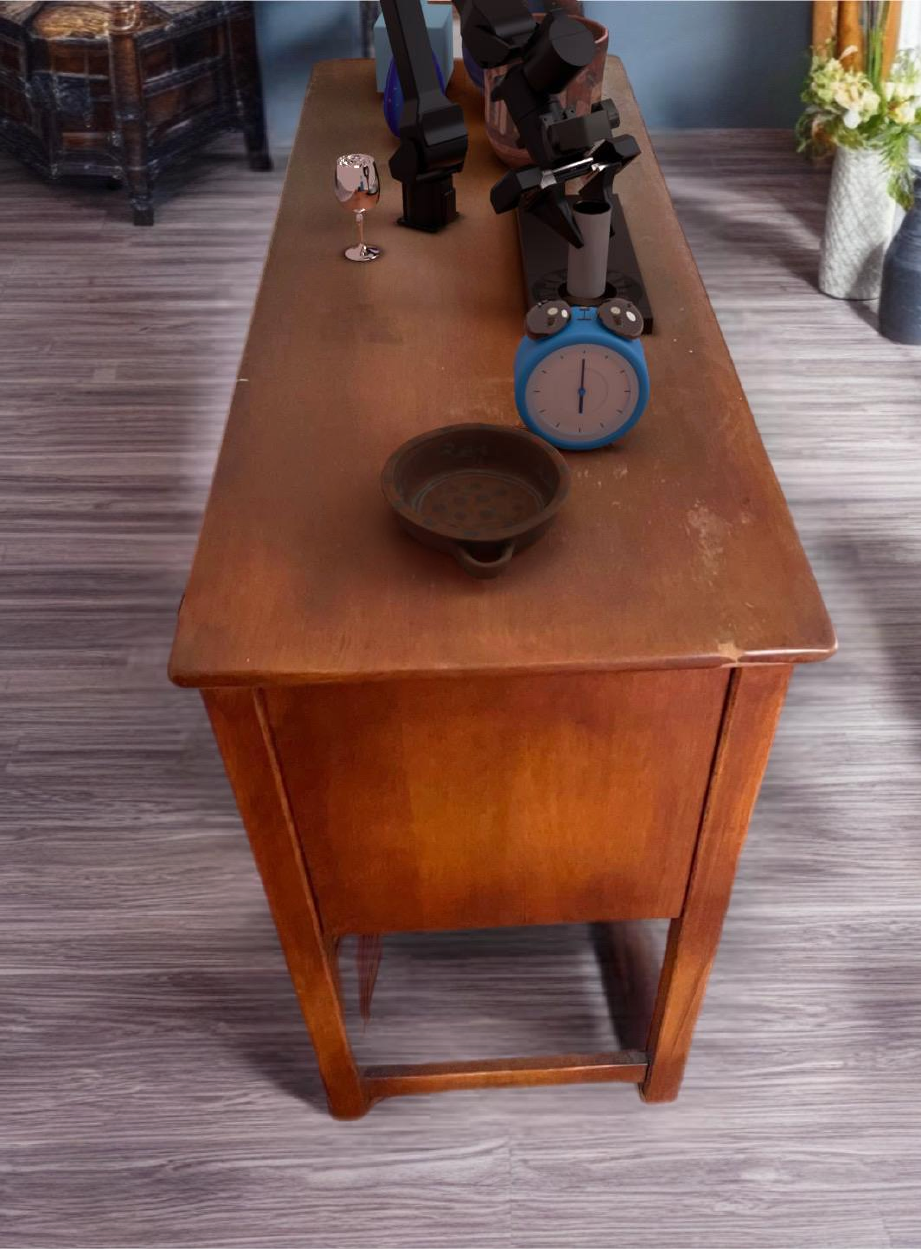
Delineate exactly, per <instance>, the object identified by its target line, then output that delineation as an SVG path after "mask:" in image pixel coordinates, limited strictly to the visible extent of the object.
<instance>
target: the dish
mask: <svg viewBox="0 0 921 1249" xmlns="http://www.w3.org/2000/svg"><path fill="white" fill-rule="evenodd" d="M379 477H380V478H379V480H380V483H379V484H380V489H381V492H382V493H383V496H384V498H385V500H386V501H387V503H388V504H389V505H390V507H391V508H392V509H393V510H394V512H395V514H396V516H397V518H398V520H399V522H400V523H401V525H402V527H403V528H404V529H405V530H406V532H407V533H408V534H409V535H410V536H411V537H413V538H414V539H415V540H416V541H418V542H420V543H421V544H422V545H424V546H426V547H428V548H430V549H432V550H435V551H437V552H439V553H443V554H444V555H445V554H446V555H449V556H451V557H455V558H456V560H457V562H458V564H459V566H460V568H461V569H462V570H463V571H464V572H465V573H466V574H467V575H469V576H470V577H472V578H475V579H477V580H478V579H479V580H490V579H491V580H492V579H495V578H497V577H500V576H501V575H503V574H504V572H505V571H506V570H507V569H508V567H509V565H510V562H511V559H512V557H513V554H515V553H518V552H521V551H524V550H526V549H528V548H529V547H531V546H533V545H534V544H536V543H537V542H538V541H540V539H542V538H543V537H544V536H545V535H546V534H547V532H548V531H549V529H551V527H552V525H553V524H554V522H555V519H556V517H557V515H558V512H559V510H560V509H561V508H562V507H563V505H564V504H565V503H566V501H567V499H568V497H569V495H570V492H571V488H572V474H571V470H570V466H569V464H568V463H567V461H566V459H565V458H564V456H563V455H562V454H561V453H560V452H559V450H558V449H557V448H556V447H555V446H552V445H550V444H549V443H547V442H546V441H544V440H543V439H542V438H540V437H538V436H536V435H534V434H533V433H532V432H530V431H527V430H525V429H521V428H516V427H513V426H512V427H511V426H506V425H502V424H492V423H484V422H463V423H456V424H451V425H446V426H442V427H441V426H440V427H437V428H433V429H431V430H428V431H426V432H423V433H421V434H418V435H416V436H414V437H413V438H412V437H411V438H410V439H408V440H407V441H405V442H404V443H402V444H401V445H399V447H397V448H396V449H395V450H394V451H393V452H392V453H391V455H390V456H389V457H388V458H387V459H386V461H385V462H384V465H383V468H382V469H381V473H380V476H379ZM490 559H497V560H495V561H490V562H483V561H482V562H481V561H478V560H490Z"/></svg>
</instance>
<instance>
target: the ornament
mask: <svg viewBox="0 0 921 1249" xmlns="http://www.w3.org/2000/svg"><path fill="white" fill-rule="evenodd" d="M432 52H433V50H432ZM433 57H434V61H435V65H436V69H437V74H438V78H439V82H440V87H441V90H442V93H443V94H444V95H445V96H446V89H445V86H444V81H443V77H442V73H441V70H440V67H439V64H438V61H437V59H436V56H435V54H434V52H433ZM446 97H447V96H446ZM403 106H404V99H403V94H402V90H401V86H400V82H399V78H398V74H397V70H396V66H395V62H394V58H393V57H392V60H391V62H390V67H389V70H388V73H387V79H386V86H385V89H384V92H383V102H382V110H383V116H384V119H385V122H386V125H387V127H388V129H389V131H390V132H391V134H392V135H393V136H394V137H395V138H397V139H399V140H400V136H399V130H398V126H399V122H400V118H401V114H402V110H403Z"/></svg>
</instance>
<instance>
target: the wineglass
mask: <svg viewBox="0 0 921 1249" xmlns="http://www.w3.org/2000/svg"><path fill="white" fill-rule="evenodd" d="M333 181H334V182H333V188H334V195H335V199H336V201H337V203H338V204H339V206H340V207H341V208H342V209H344V210H346V211H348V212H350V213H354V214H356V215H355V223H356V225H357V229H358V235H359V236H358V237H359V238H358V239H359V243H358V245H355V246H352V247H349V248H348V249H346V251H345V252H344V253H345V254H344V255H345V257H346V258H347V259H349V260H351V261H358V262H363V261H364V262H365V261H370V260H373V259H375V258H377V257H379V255H380V250H379V249H378V248H377V247H375V246H373V245H367V244H365V242H364V234H363V232H364V231H363V228H364V222H365V221H364V220H365V219H364V215H363V214H362V213H366V212H369V211H370V210H372V209H374V208H375V207H376V206H377V204H378V202H379V200H380V197H381V180H380V176H379V171H378V168H377V164H376V161H375V159H374V157H373V156H371V155H368V154H364V153H351V154H345V155H343V156H340V157H339V158H338V159H336V163H335V169H334V179H333Z"/></svg>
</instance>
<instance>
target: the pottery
mask: <svg viewBox="0 0 921 1249" xmlns="http://www.w3.org/2000/svg"><path fill="white" fill-rule="evenodd" d="M546 14H547V13H532V15H533V17H534V18H535V19H537V20H538V21H540V22H542V21H543V19H544V17H545V15H546ZM567 16H568V17H571V18H574V19H576V20H578V21H579V22H581V23H582V24H583V25H584V26H585V27H586V28H587V29H588V30H590V31H591V32H592V34H593V36H594V39H595V42H596V54H595V57H594V59H593V60H592V61H591V63H590V64H589V65H588V66H587V67H586V68H585V69H584V70H583V71H582V72H581V74H580V75H579V76H578V77H577V78H576V79H575V80H574V81H573V82H572V83H571V84H570V86H569V87H568V88H567V89H566V90H565V91H563V92H562V93H560V94H557V95H558V97H559V99H560V101H561V103H562V106H563V108H568V107H572V108H573V109H574V110H575V112H576V114H577V116H578V117H580V116H583V115H587V114H590V113H591V105H592V104H593V103H596V102H599V101H602V94H603V93H602V90H603V82H604V72H605V67H606V61H607V60H606V59H607V56H608V49H609V41H610V30H609V29H608V28H607V27H606V26H605V25H604V24H602V23H600V22H598V21H595V20H593V19H591V18H588V17H585V18H583V17H579V16H574V15H567ZM522 62H523V61H520V62H516V63H512V64H508V65H505V66H501V67H497V68H493V69H484V74H485V97H484V127H485V128H484V129H485V133H486V136H487V138H488V140H489V142H490V144H491V146H492V149H493V150H494V152H495V154H496V156H498V158H499V159H501V161H502V162H503V163H504V164H505V165H507V166H508V167H510V168H511V169H514V168H517V167H520V166H524V165H527V164H530V163H532V161H531V159H530V156H529V154H528V152H527V150H526V148H523V149H520V150H518V147H517V145H516V143H515V141H516V140H517V139H518V138H519V137H520V135H519V133H518V130H517V128H516V126H515V124H514V122H513V120H512V117H511V115H510V113H509V111H508V109H507V107H506V104H505V102H504V100H501V101H497V102H494V103H493V102H491V100H490V95H491V90H492V88H493V85H494V77H495V76H498V75H502V74H505V73H506V72H507V71H508V70H509V68H510V67H512V66H513V65H515V64H518V63H522ZM595 144H596V142H594V145H595ZM591 151H592V149H591V150H590V151H587V152H586V153H585V156H589V155H590V154H591Z"/></svg>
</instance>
